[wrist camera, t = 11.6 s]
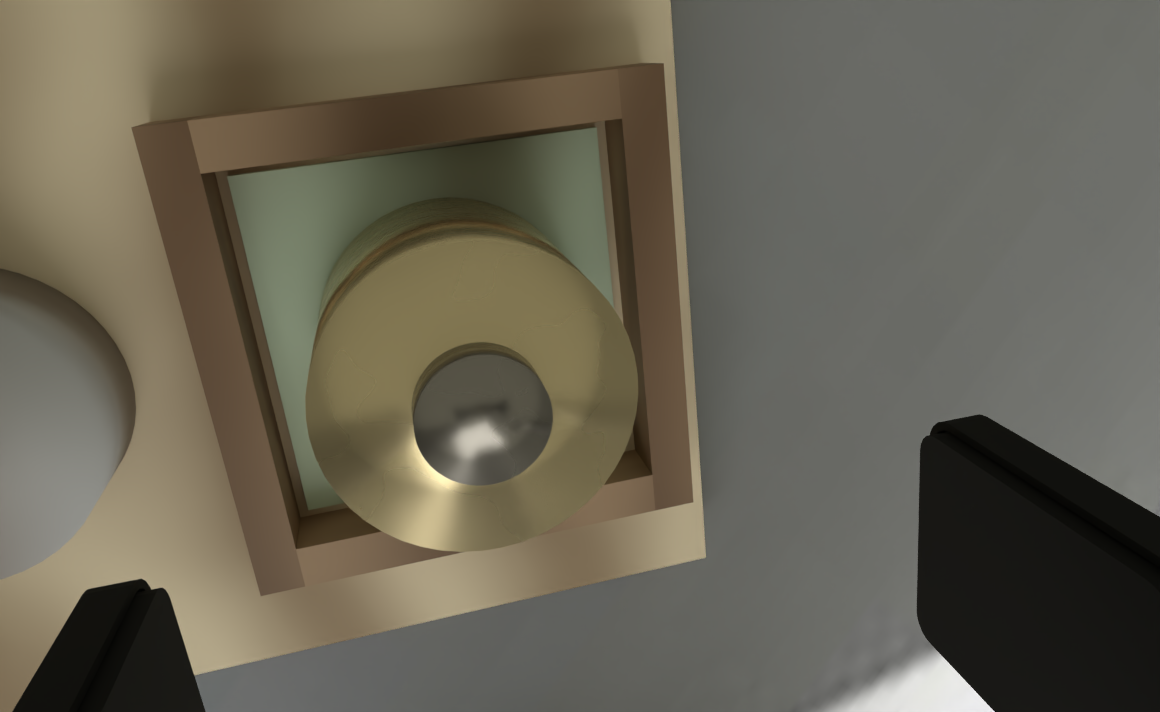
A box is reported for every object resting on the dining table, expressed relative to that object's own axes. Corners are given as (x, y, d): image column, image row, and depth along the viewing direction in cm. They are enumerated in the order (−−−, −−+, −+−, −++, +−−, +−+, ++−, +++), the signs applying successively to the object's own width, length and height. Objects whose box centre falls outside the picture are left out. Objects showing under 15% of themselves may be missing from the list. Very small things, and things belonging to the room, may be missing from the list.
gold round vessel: (562, 178, 20) (635, 224, 14) (591, 417, 22) (664, 534, 17) (292, 219, 19) (262, 284, 13) (349, 466, 21) (343, 607, 16)
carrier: (644, -66, 20) (723, -101, 16) (687, 530, 26) (754, 628, 21) (-359, 26, 17) (-622, 15, 12) (-58, 697, 22) (-164, 857, 18)
